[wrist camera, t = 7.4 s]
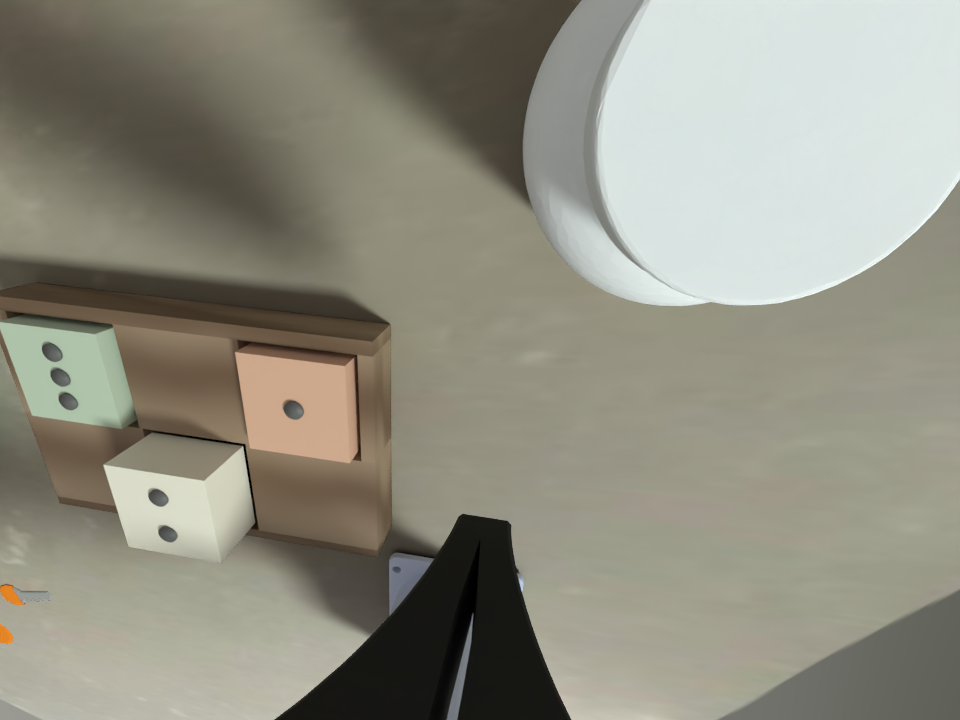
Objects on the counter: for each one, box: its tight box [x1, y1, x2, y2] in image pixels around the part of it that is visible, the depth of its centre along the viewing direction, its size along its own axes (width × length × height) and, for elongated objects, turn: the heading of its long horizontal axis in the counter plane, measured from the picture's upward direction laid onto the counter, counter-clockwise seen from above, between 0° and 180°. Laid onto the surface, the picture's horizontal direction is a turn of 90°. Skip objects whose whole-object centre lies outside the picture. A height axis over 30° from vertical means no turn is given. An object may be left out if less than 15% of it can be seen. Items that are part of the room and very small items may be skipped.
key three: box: [0, 314, 137, 429], centre depth 23 cm, size 5×5×3 cm
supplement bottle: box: [523, 0, 960, 306], centre depth 11 cm, size 7×7×13 cm
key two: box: [103, 432, 255, 563], centre depth 23 cm, size 5×5×3 cm
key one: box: [235, 342, 361, 463], centre depth 22 cm, size 5×5×3 cm
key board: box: [0, 283, 392, 557], centre depth 24 cm, size 12×19×2 cm, turn 86°
